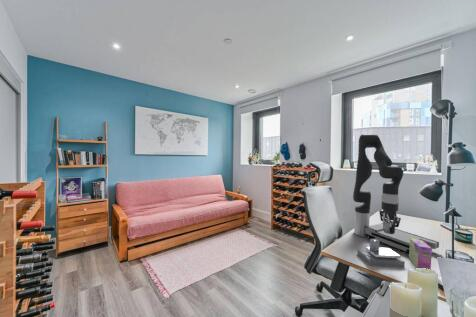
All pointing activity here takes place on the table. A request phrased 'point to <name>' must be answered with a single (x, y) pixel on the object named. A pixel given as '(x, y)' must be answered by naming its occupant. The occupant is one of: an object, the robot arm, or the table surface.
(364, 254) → the scale base
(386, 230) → the spacer
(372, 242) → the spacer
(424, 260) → the box
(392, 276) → the table surface
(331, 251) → the table surface
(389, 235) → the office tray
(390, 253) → the scale pan
